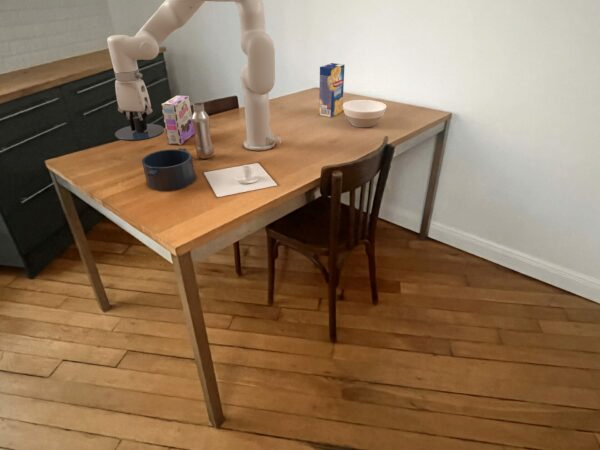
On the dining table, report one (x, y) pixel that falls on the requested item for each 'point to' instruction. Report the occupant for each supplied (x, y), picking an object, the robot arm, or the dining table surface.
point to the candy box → (178, 119)
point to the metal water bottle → (202, 131)
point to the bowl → (364, 112)
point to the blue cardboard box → (331, 89)
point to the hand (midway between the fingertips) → (139, 129)
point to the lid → (139, 132)
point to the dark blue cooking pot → (169, 169)
